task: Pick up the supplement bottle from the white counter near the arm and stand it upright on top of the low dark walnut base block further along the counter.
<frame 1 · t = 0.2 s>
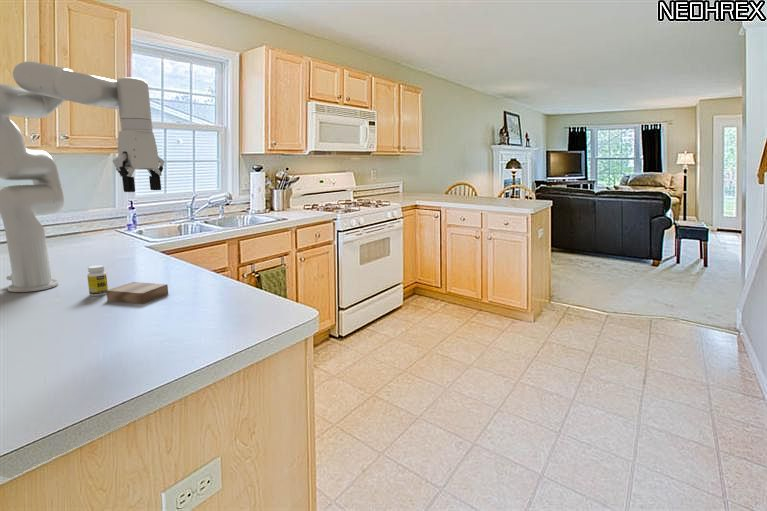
hand: (143, 191, 127), 31 cm above the counter, fingers open, 9 cm apart
walnut base: (138, 297, 133), on the counter
supplement bottle: (99, 294, 136), on the counter
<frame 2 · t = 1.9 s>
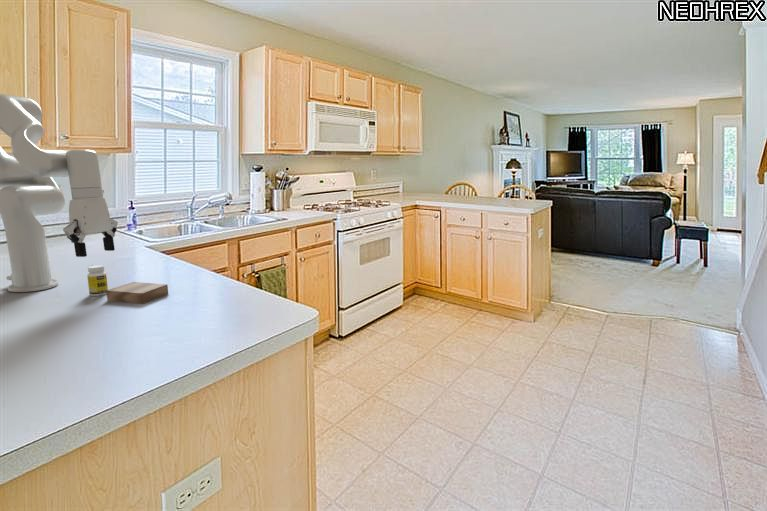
hand: (96, 253, 134), 12 cm above the counter, fingers open, 9 cm apart
nothing on the counter moved.
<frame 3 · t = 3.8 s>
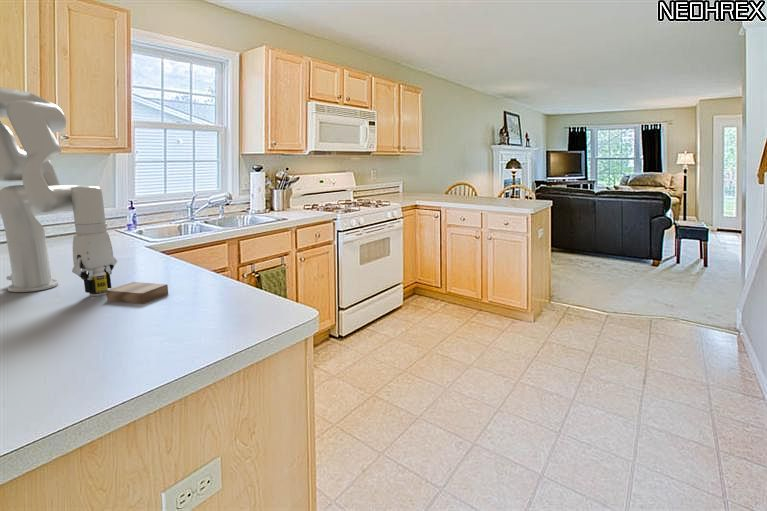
hand: (98, 289, 136), 1 cm above the counter, fingers closed on supplement bottle, 4 cm apart
supplement bottle: (99, 294, 136), on the counter, touching gripper
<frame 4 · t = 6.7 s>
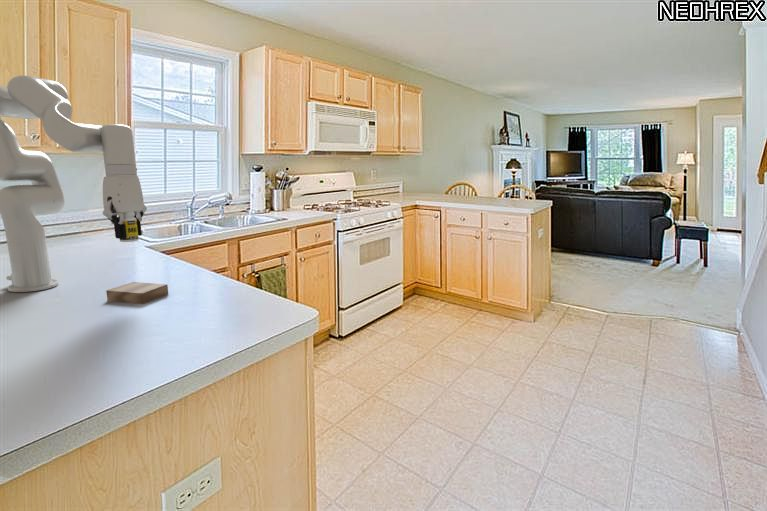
hand: (128, 236, 130), 18 cm above the counter, fingers closed on supplement bottle, 4 cm apart
supplement bottle: (129, 241, 130), point 16 cm above the counter, touching gripper
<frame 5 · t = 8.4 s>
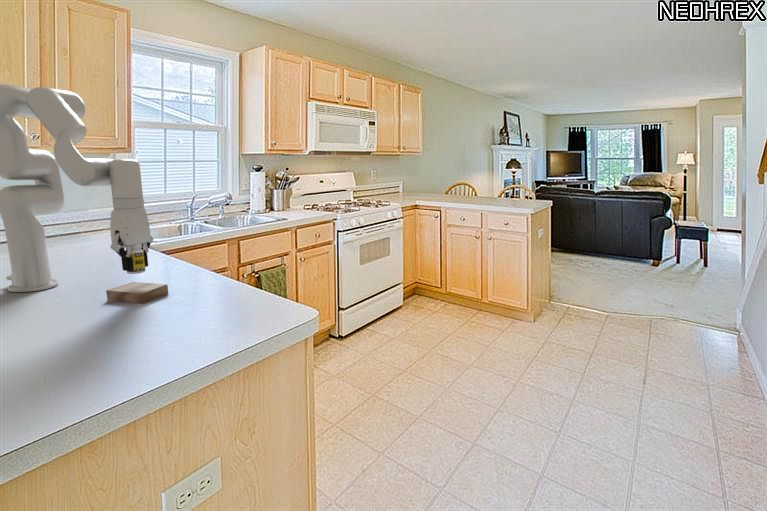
hand: (135, 267, 131), 9 cm above the counter, fingers closed on supplement bottle, 4 cm apart
supplement bottle: (136, 273, 132), point 7 cm above the counter, touching gripper
when the fingers open (6 cm above the counter, at t = 9.8 s): supplement bottle drops 1 cm, resting on walnut base.
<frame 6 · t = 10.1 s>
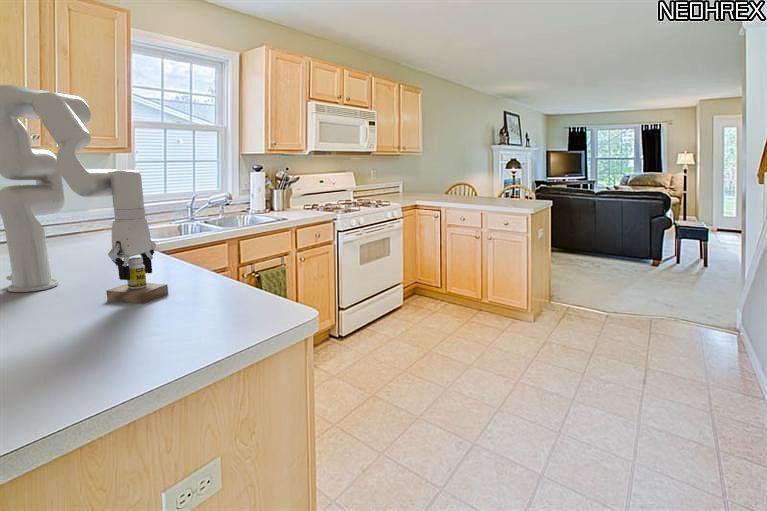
hand: (136, 275, 132), 6 cm above the counter, fingers open, 7 cm apart
supplement bottle: (137, 287, 133), point 3 cm above the counter, touching walnut base
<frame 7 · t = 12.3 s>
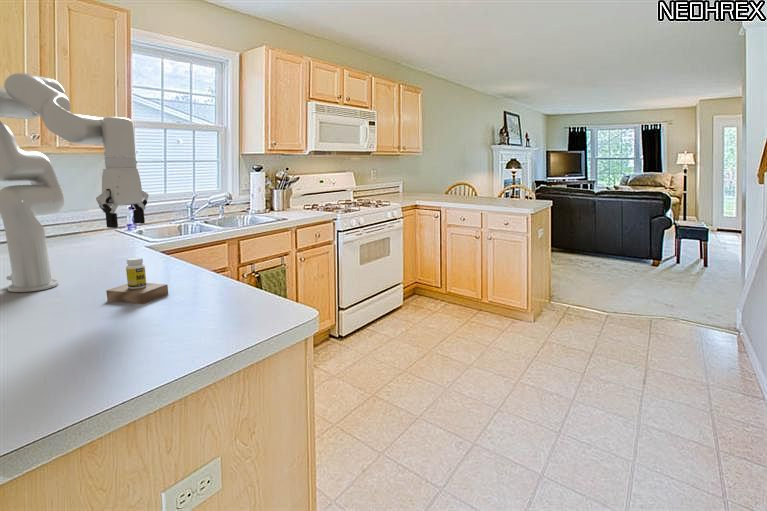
hand: (126, 225, 130), 21 cm above the counter, fingers open, 9 cm apart
nothing on the counter moved.
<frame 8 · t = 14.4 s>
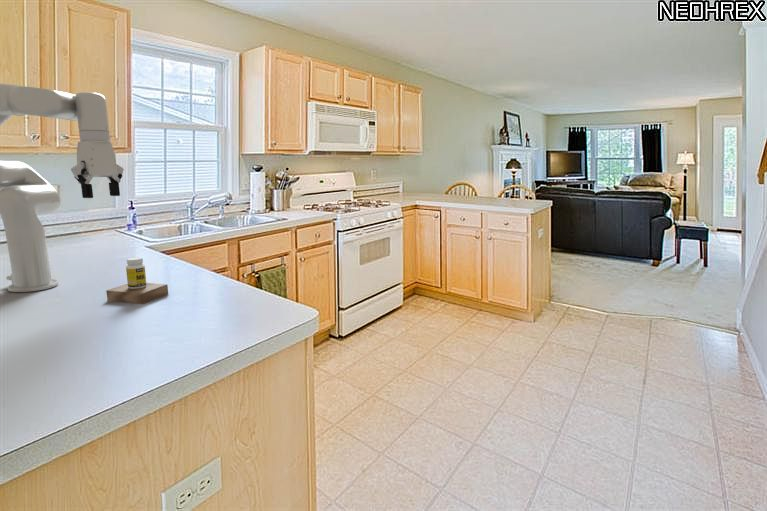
hand: (102, 196, 137), 28 cm above the counter, fingers open, 9 cm apart
nothing on the counter moved.
at the end: supplement bottle inside the target area on the walnut base (0.3 cm from its centre), point 2.8 cm above the walnut base's base; supplement bottle tilted 0°; the gripper is holding nothing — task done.
